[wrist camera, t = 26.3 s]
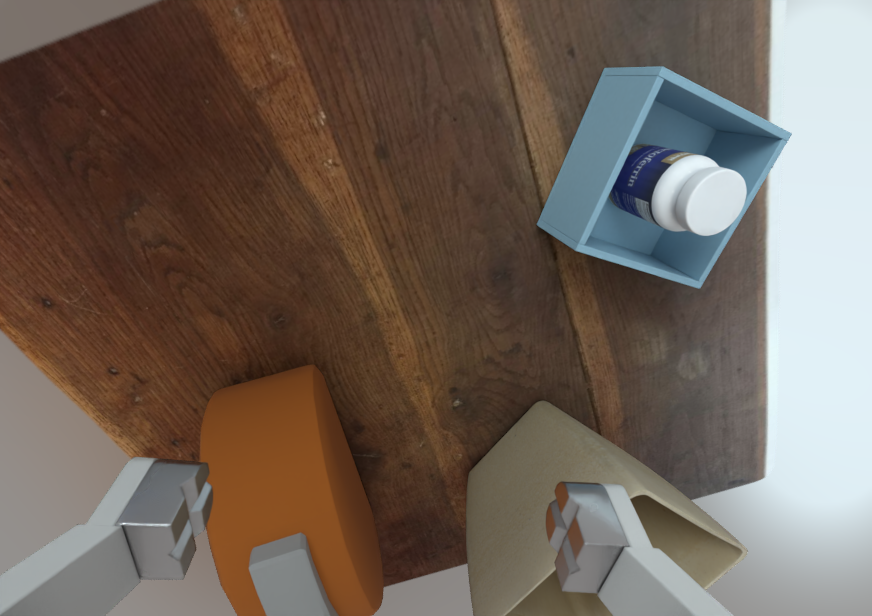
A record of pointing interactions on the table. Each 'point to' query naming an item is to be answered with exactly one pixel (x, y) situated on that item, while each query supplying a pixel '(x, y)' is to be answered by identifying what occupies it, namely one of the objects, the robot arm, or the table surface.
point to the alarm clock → (288, 501)
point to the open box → (661, 126)
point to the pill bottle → (678, 190)
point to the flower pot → (533, 491)
